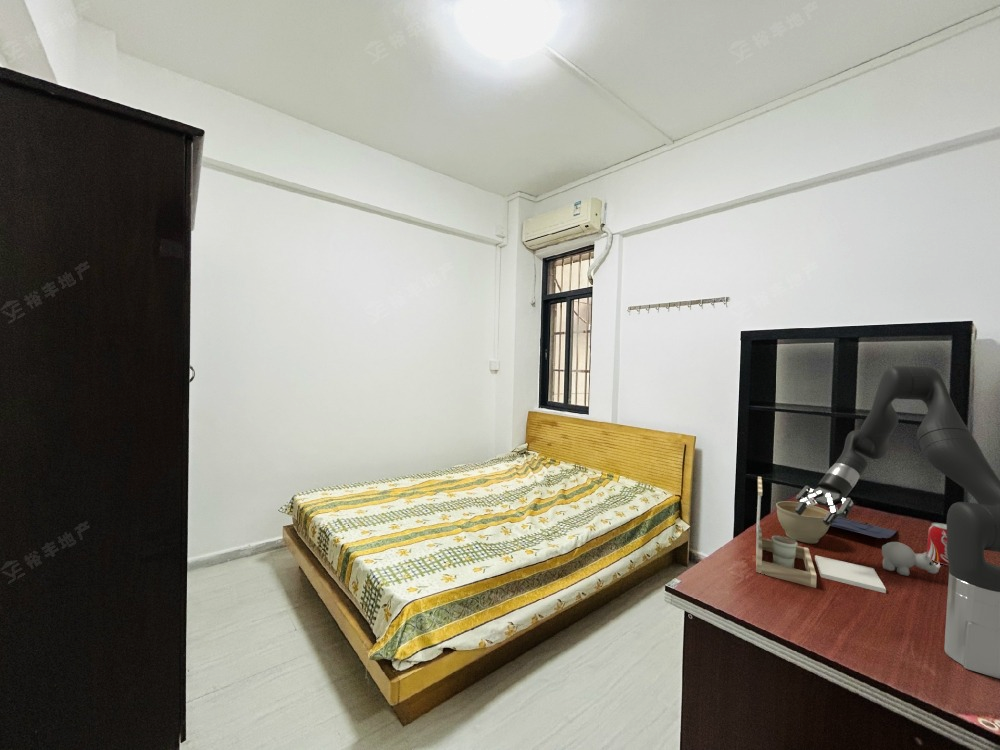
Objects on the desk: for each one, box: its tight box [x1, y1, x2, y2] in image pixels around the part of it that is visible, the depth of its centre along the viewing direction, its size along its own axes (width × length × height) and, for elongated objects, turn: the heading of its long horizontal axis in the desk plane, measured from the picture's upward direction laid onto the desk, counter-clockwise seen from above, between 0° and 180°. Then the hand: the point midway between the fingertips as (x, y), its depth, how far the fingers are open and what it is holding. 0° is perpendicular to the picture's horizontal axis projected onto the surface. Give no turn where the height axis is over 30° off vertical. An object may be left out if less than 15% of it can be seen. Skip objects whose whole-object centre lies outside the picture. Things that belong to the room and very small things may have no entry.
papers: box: [829, 517, 898, 539], centre depth 155 cm, size 24×30×4 cm
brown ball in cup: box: [771, 535, 798, 569], centre depth 124 cm, size 6×6×8 cm
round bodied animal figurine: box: [881, 541, 942, 577], centre depth 121 cm, size 8×12×9 cm, turn 43°
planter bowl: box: [775, 500, 830, 544], centre depth 145 cm, size 16×16×11 cm
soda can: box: [926, 522, 949, 565], centre depth 129 cm, size 7×7×12 cm
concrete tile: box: [814, 555, 887, 594], centre depth 119 cm, size 14×14×1 cm
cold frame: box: [755, 476, 818, 589], centre depth 124 cm, size 21×14×24 cm
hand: (811, 518), depth 126 cm, fingers open, 8 cm apart
